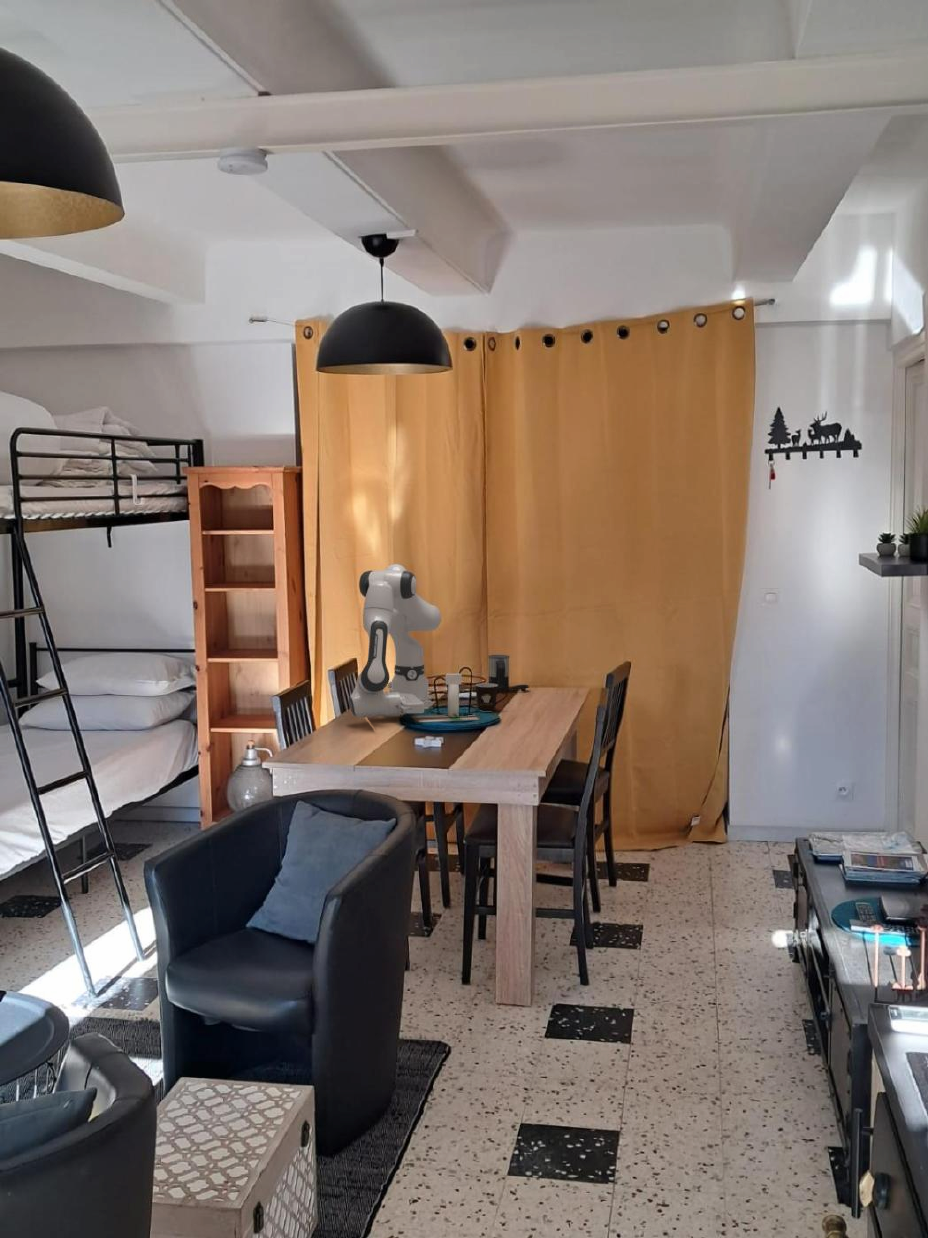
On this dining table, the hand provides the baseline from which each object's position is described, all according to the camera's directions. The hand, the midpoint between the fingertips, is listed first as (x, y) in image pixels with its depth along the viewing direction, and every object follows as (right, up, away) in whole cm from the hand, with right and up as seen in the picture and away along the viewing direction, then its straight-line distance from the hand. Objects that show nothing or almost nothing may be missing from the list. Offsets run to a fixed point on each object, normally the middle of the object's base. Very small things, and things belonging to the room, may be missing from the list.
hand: (431, 703), depth 438 cm
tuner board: (+5, -7, +2) cm, 9 cm away
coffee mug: (+22, -5, +23) cm, 32 cm away
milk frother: (+30, 0, +69) cm, 76 cm away
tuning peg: (+8, -5, +1) cm, 10 cm away
